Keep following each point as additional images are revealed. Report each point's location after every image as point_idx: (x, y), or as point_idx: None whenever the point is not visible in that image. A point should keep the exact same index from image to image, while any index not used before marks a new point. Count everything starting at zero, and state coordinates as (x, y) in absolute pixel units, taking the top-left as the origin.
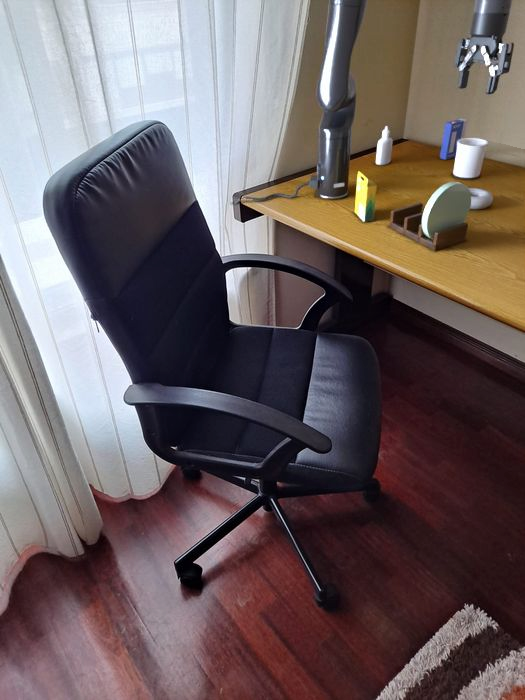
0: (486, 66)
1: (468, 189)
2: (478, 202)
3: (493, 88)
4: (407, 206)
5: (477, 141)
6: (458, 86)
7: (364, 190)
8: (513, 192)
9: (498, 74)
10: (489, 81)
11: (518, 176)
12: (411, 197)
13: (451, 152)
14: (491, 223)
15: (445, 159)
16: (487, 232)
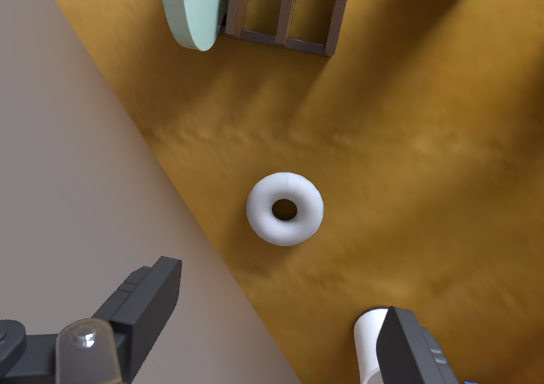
0: (124, 382)
1: (165, 13)
2: (257, 186)
3: (129, 282)
4: (343, 2)
5: None
6: (412, 313)
7: None
8: (261, 302)
9: (42, 338)
10: (137, 299)
11: (297, 373)
12: (411, 153)
13: None
14: (205, 146)
15: (465, 382)
16: (185, 101)
